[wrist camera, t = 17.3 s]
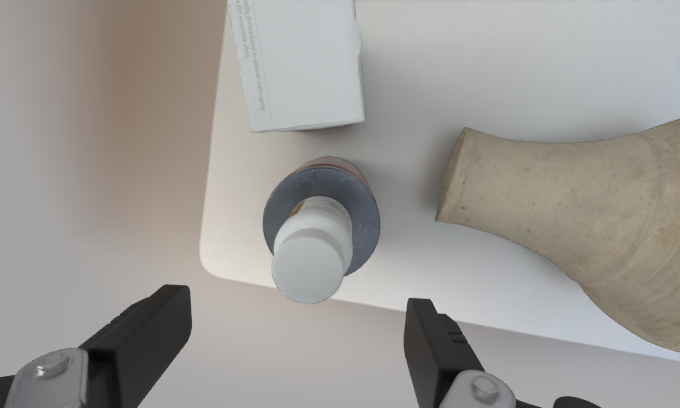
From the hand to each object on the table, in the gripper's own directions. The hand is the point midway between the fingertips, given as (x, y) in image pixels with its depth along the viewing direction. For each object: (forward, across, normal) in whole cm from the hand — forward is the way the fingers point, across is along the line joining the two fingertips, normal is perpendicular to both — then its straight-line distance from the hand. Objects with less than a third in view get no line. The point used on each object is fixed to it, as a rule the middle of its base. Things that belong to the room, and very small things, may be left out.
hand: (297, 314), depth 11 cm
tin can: (+22, 0, 0) cm, 22 cm away
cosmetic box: (+22, +1, -11) cm, 25 cm away
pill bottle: (+11, 0, 0) cm, 11 cm away
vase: (+22, -21, -3) cm, 31 cm away
